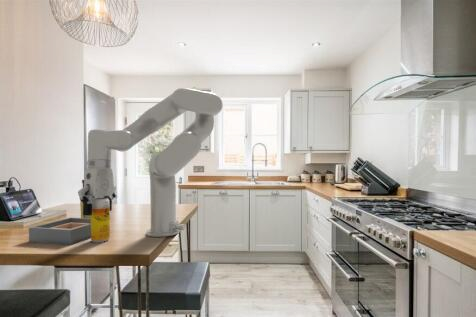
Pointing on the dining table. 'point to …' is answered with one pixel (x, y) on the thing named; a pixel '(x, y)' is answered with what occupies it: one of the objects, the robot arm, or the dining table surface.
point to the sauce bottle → (82, 207)
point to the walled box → (62, 231)
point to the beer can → (100, 219)
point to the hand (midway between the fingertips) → (97, 212)
